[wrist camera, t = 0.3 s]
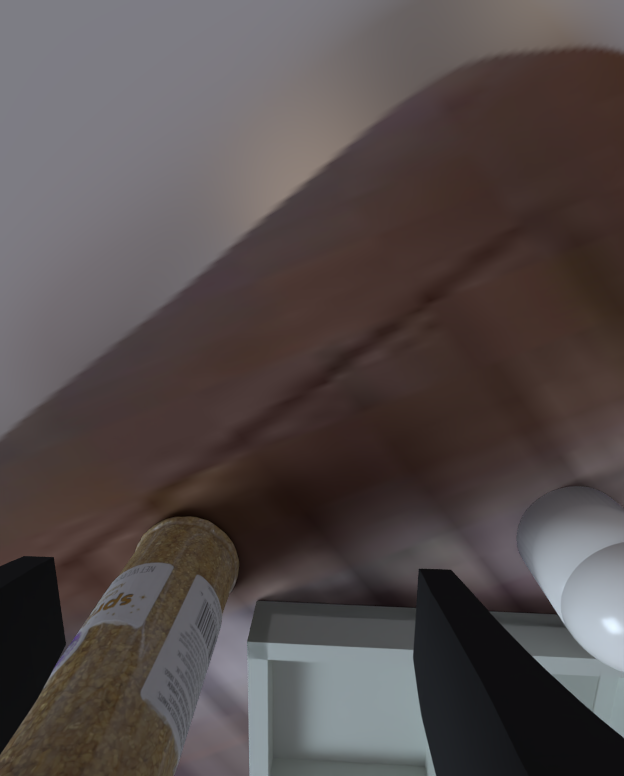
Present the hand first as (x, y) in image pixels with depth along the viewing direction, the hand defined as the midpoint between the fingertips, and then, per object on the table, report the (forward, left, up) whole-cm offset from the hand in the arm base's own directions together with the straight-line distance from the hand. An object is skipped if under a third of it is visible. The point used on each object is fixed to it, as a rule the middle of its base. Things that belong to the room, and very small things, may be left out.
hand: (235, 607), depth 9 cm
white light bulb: (-4, -12, -10) cm, 16 cm away
